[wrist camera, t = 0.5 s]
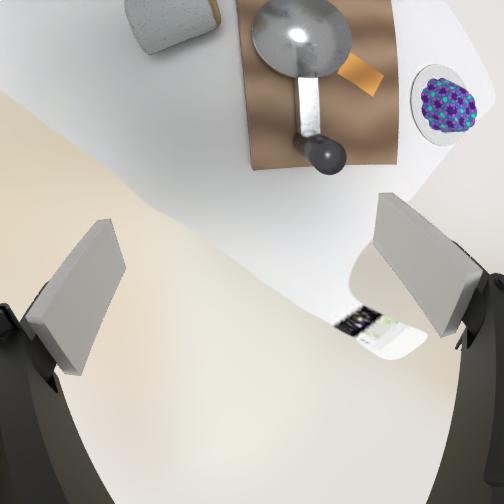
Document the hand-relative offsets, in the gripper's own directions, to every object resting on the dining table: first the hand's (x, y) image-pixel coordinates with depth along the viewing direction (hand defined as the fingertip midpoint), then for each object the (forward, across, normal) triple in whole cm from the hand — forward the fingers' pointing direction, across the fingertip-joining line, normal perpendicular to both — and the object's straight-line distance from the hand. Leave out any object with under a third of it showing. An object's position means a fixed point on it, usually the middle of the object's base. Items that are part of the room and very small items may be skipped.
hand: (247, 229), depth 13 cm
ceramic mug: (+22, -6, +18) cm, 29 cm away
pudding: (+22, +28, +6) cm, 37 cm away
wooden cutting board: (+22, +10, +8) cm, 26 cm away
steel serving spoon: (+19, +7, +8) cm, 22 cm away
